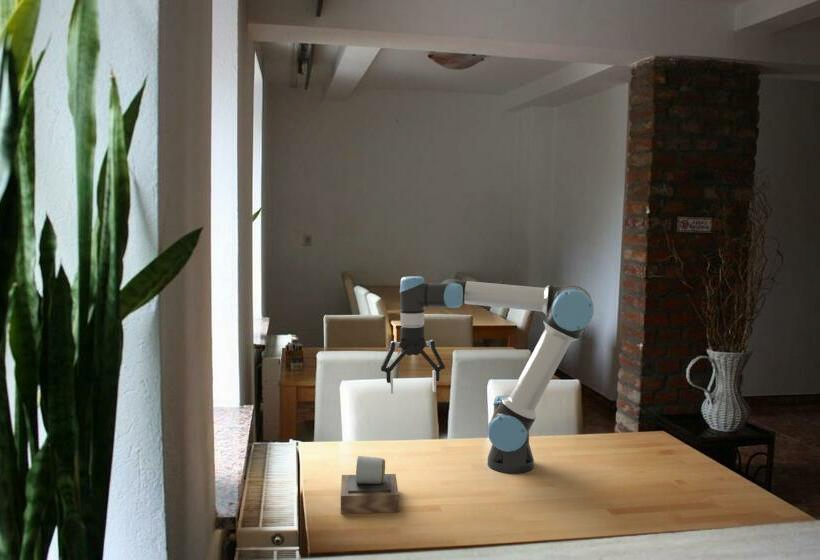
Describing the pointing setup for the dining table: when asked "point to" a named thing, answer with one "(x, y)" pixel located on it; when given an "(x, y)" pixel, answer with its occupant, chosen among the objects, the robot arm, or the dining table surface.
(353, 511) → the walnut base
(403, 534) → the dining table surface
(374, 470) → the ceramic mug
